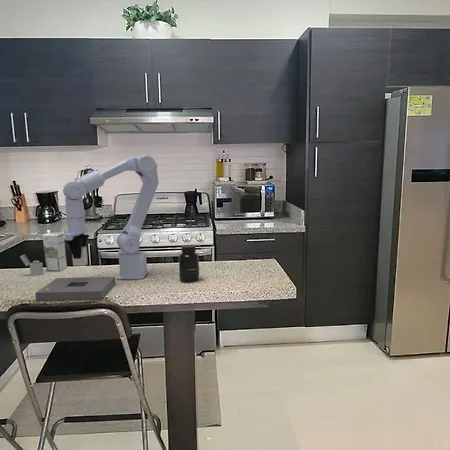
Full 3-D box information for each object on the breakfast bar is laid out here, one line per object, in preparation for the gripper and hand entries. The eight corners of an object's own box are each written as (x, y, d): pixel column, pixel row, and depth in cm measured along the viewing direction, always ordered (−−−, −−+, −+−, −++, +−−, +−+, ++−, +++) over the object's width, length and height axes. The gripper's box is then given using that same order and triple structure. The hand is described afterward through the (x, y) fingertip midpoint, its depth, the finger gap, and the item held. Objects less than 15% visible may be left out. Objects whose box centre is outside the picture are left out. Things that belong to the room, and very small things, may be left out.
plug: (87, 263, 135) (86, 243, 134) (84, 265, 132) (83, 244, 131) (76, 263, 135) (74, 243, 134) (73, 265, 132) (71, 244, 131)
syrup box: (67, 267, 157) (64, 231, 155) (59, 271, 151) (56, 234, 149) (53, 267, 158) (50, 231, 155) (45, 271, 152) (42, 234, 150)
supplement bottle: (191, 284, 132) (190, 249, 130) (175, 281, 135) (173, 247, 133) (203, 278, 137) (202, 245, 135) (187, 276, 141) (186, 243, 139)
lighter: (43, 273, 149) (41, 253, 148) (42, 274, 148) (40, 254, 146) (23, 275, 148) (21, 254, 147) (22, 276, 146) (19, 255, 145)
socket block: (115, 283, 134) (115, 276, 134) (101, 299, 119) (100, 290, 119) (57, 285, 134) (56, 277, 134) (36, 300, 119) (35, 292, 119)
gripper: (72, 214, 138) (75, 252, 141) (54, 221, 124) (58, 262, 126) (92, 214, 138) (95, 252, 140) (76, 220, 124) (79, 262, 126)
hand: (79, 257), depth 133 cm, fingers closed on plug, 3 cm apart
